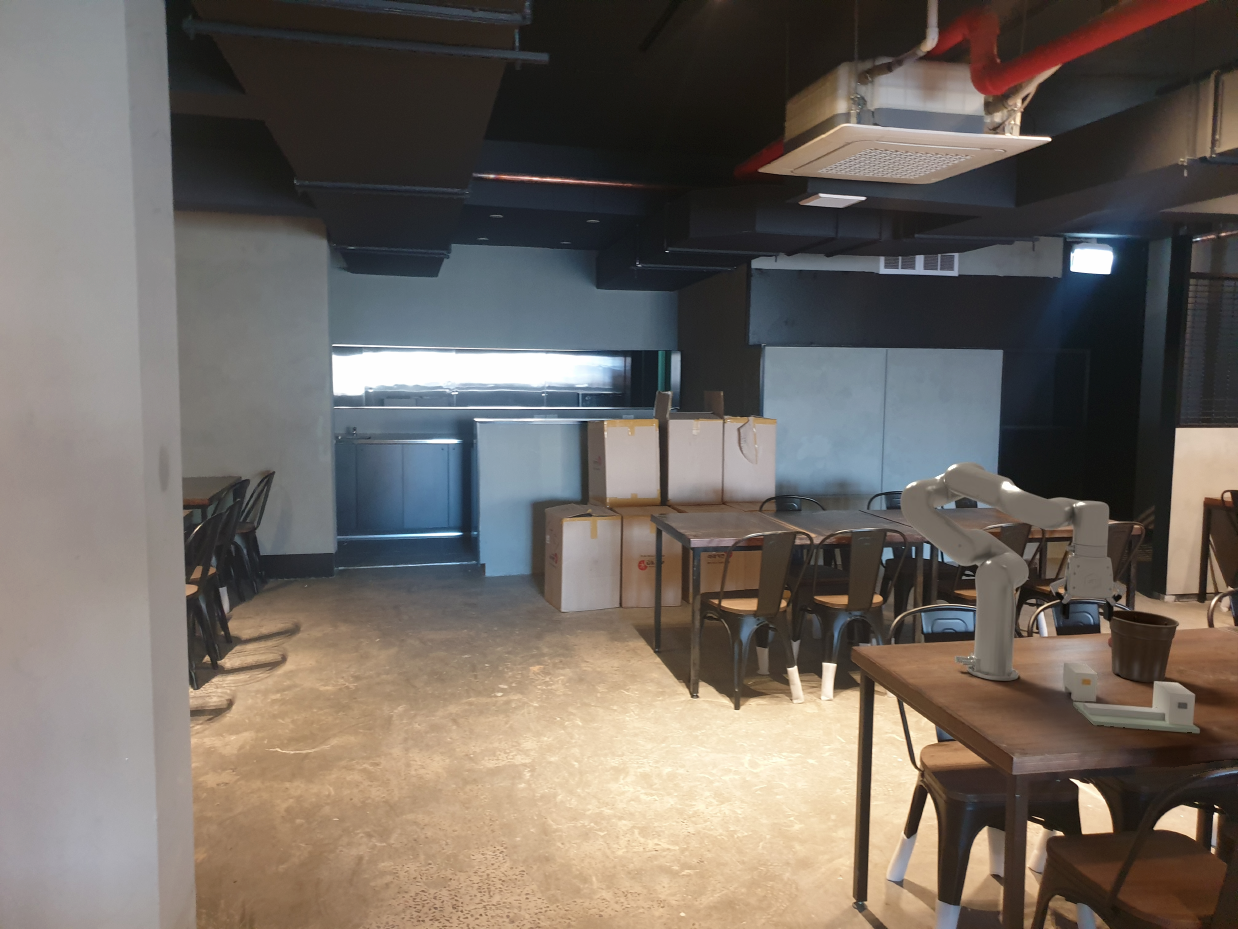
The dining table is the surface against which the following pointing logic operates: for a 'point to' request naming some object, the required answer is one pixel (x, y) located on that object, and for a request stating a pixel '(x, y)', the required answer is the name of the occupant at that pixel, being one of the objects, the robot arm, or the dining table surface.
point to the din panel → (1134, 722)
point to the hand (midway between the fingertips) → (1086, 619)
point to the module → (1080, 681)
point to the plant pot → (1141, 644)
